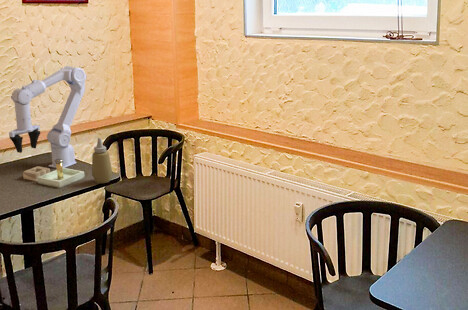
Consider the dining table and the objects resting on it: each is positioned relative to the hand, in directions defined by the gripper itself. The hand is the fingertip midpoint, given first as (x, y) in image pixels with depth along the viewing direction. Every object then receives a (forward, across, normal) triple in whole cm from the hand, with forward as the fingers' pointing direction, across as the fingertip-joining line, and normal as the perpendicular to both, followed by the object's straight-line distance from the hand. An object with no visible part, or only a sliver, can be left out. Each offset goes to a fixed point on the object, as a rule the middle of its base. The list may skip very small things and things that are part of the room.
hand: (26, 150), depth 231 cm
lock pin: (+10, 0, -18) cm, 20 cm away
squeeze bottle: (+10, +6, -34) cm, 36 cm away
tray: (+10, 0, -18) cm, 21 cm away
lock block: (+10, -2, -6) cm, 12 cm away
